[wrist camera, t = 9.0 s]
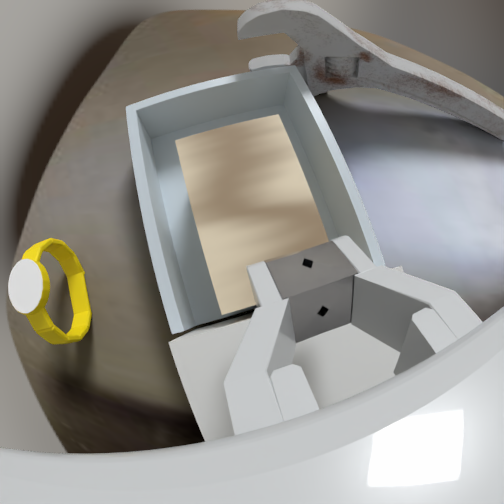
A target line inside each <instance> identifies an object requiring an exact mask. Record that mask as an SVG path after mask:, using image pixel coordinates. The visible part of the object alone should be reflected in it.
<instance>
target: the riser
mask: <svg viewBox="0 0 504 504" xmlns="http://www.w3.org/2000/svg"><path fill="white" fill-rule="evenodd" d="M392 269H394V270H397V271H400V272H402V273H404V272H403V268H402V266H399V267H395V268H392ZM253 313H254V312H252V313H249V314H246V315H242V316H239V317H236V318H232V319H229V320H226V321H222V322H219V323H215V324H212V325H208V326H205V327H201V328H198V329H194V330H192V331H190V332H188V333H186V334H184V335H182V336H180V337H178V338H176V339H174V340H172V341H170V342H168V343H169V346H170V349H171V352H172V355H173V358H174V361H175V364H176V367H177V370H178V373H179V376H180V379H181V381H182V384H183V387H184V390H185V392H186V395H187V398H188V400H189V403H190V406H191V408H192V411H193V413H194V416H195V418H196V421H197V423H198V426H199V428H200V431H201V433H202V435H203V438H204V440H205V442H206V441H211V440H216V439H220V438H225V437H229V436H233V435H235V433H234V429H233V425H232V420H231V416H230V411H229V407H228V402H227V397H226V393H225V388H224V381H225V378H226V376H227V374H228V371H229V369H230V367H231V365H232V362H233V360H234V358H235V355H236V353H237V351H238V348H239V346H240V343H241V341H242V339H243V336H244V334H245V332H246V329H247V327H248V325H249V322H250V320H251V317H252V315H253ZM399 355H400V352H398V351H397V350H395V349H393V348H391V347H390V346H388V345H386V344H384V343H383V342H381V341H379V340H378V339H376V338H374V337H372V336H371V335H369V334H367V333H365V332H364V331H362V330H360V329H359V328H357V327H355V326H353V325H352V324H351V323H349V324H347V325H344V326H341V327H338V328H336V329H333V330H330V331H327V332H324V333H321V334H319V335H316V336H314V337H311V338H309V339H306V340H303V341H301V342H298V343H296V348H295V352H294V357H293V361H292V364H294V365H297V366H301V368H302V370H303V372H304V375H305V377H306V379H307V382H308V384H309V386H310V388H311V391H312V393H313V395H314V398H315V400H316V402H317V405H318V407H319V409H322V408H324V407H327V406H329V405H332V404H334V403H337V402H339V401H342V400H344V399H347V398H349V397H351V396H354V395H356V394H358V393H361V392H363V391H365V390H367V389H369V388H372V387H374V386H376V385H378V384H380V383H382V382H384V381H386V380H388V379H390V378H392V377H394V376H395V374H394V369H395V366H396V364H397V361H398V358H399Z"/></svg>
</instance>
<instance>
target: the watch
mask: <svg viewBox="0 0 504 504" xmlns="http://www.w3.org/2000/svg"><path fill="white" fill-rule="evenodd" d="M43 251H46V252H49V253H50V254H51V255H52V256H53V257H54V258H56V259H57V260H58V261H59V263H60V265H61V267H62V269H63V271H64V272H65V274H66V276H67V280H68V286H69V292H70V297H71V302H72V307H73V312H74V318H73V322H72V327H71V330H70V331H69V332H68V333H67V334H65V333H64V332H63V331H61V330H60V329H59V328H58V327H56V326H55V325H54V324H53V322H52V320H51V319H50V317H49V315H48V313H47V311H46V309H45V308H44V307H45V305H46V303H47V301H48V298H49V293H50V281H49V276H48V273H47V271H46V269H45V267H44V266H43V265H42V264H41V263H40V258H41V255H42V252H43ZM83 271H84V270H83V268H82V266H81V264H80V262H79V260H78V258H77V256H76V255H75V253H74V252H73V251H72V250H71V249H70V248H69V247H68V246H67V245H66V244H65V243H64V242H63V241H61V240H57V239H53V238H50V239H47V240H44V241H42V242H39V243H37V244H35V245H33V246H32V247H31V248H29V249H28V250H27V251H25V254H23V258H22V260H21V261H19V262H18V263H17V264H16V265H15V266H14V268H13V269H12V272H11V274H10V278H9V283H8V292H9V297H10V301H11V303H12V305H13V307H14V308H15V309H16V310H17V311H18V312H19V313H21V314H24V315H26V316H27V318H28V320H29V322H30V323H31V325H32V327H33V329H34V330H35V331H36V333H37V334H38V335H40V336H41V337H42V338H44V339H45V340H46V341H48V342H49V343H50V344H51V343H52V344H67V343H72V342H78V341H80V340H82V338H83V337H84V336H85V335H86V333H87V332H88V330H89V327H90V321H91V315H92V312H91V308H90V303H89V299H88V294H87V288H86V283H85V277H84V274H85V271H84V272H83Z"/></svg>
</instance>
